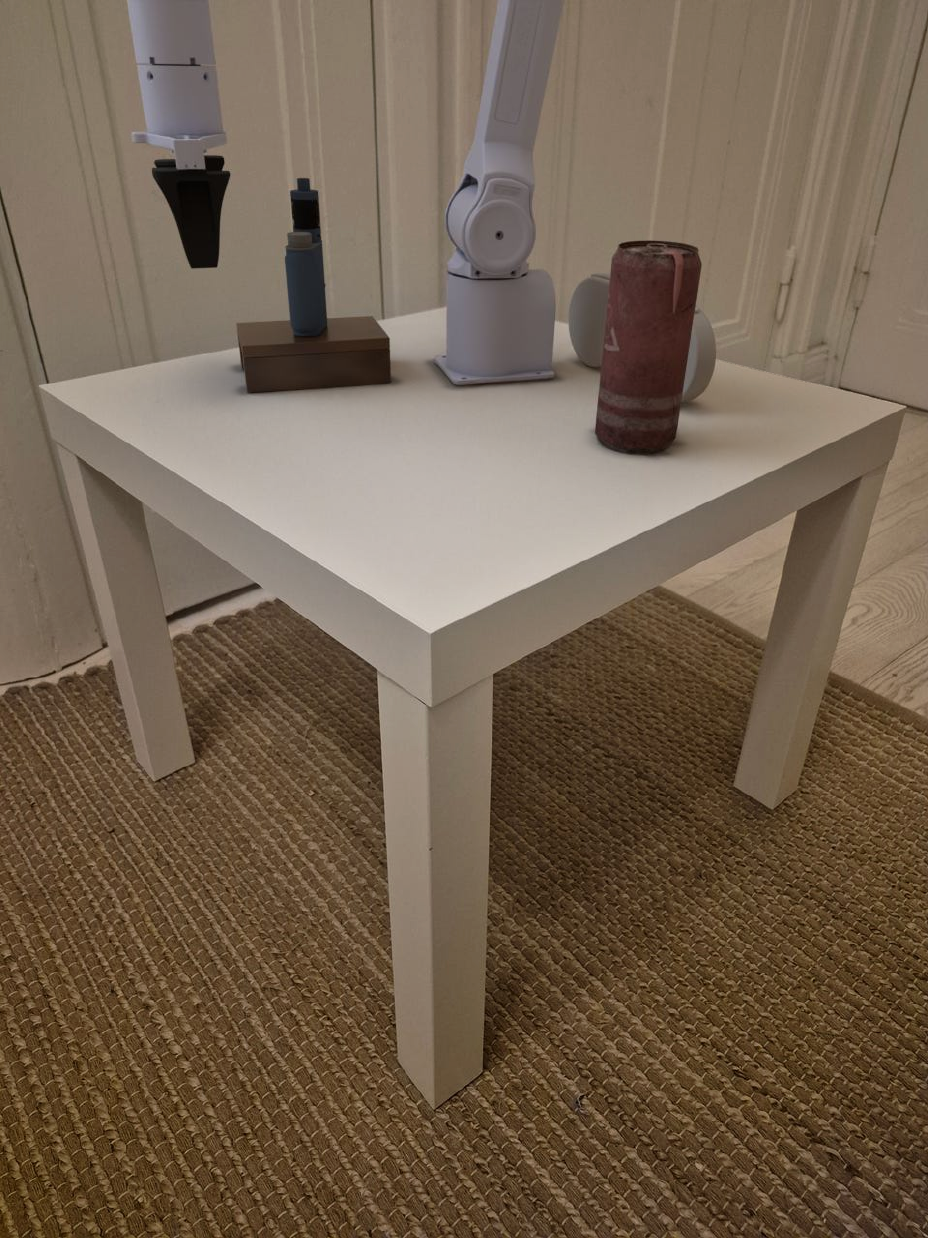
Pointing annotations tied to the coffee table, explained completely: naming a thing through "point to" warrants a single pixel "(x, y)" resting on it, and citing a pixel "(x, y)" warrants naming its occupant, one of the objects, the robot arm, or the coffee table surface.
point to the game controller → (590, 330)
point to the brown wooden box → (314, 355)
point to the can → (646, 344)
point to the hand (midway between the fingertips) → (202, 258)
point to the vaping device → (305, 263)
